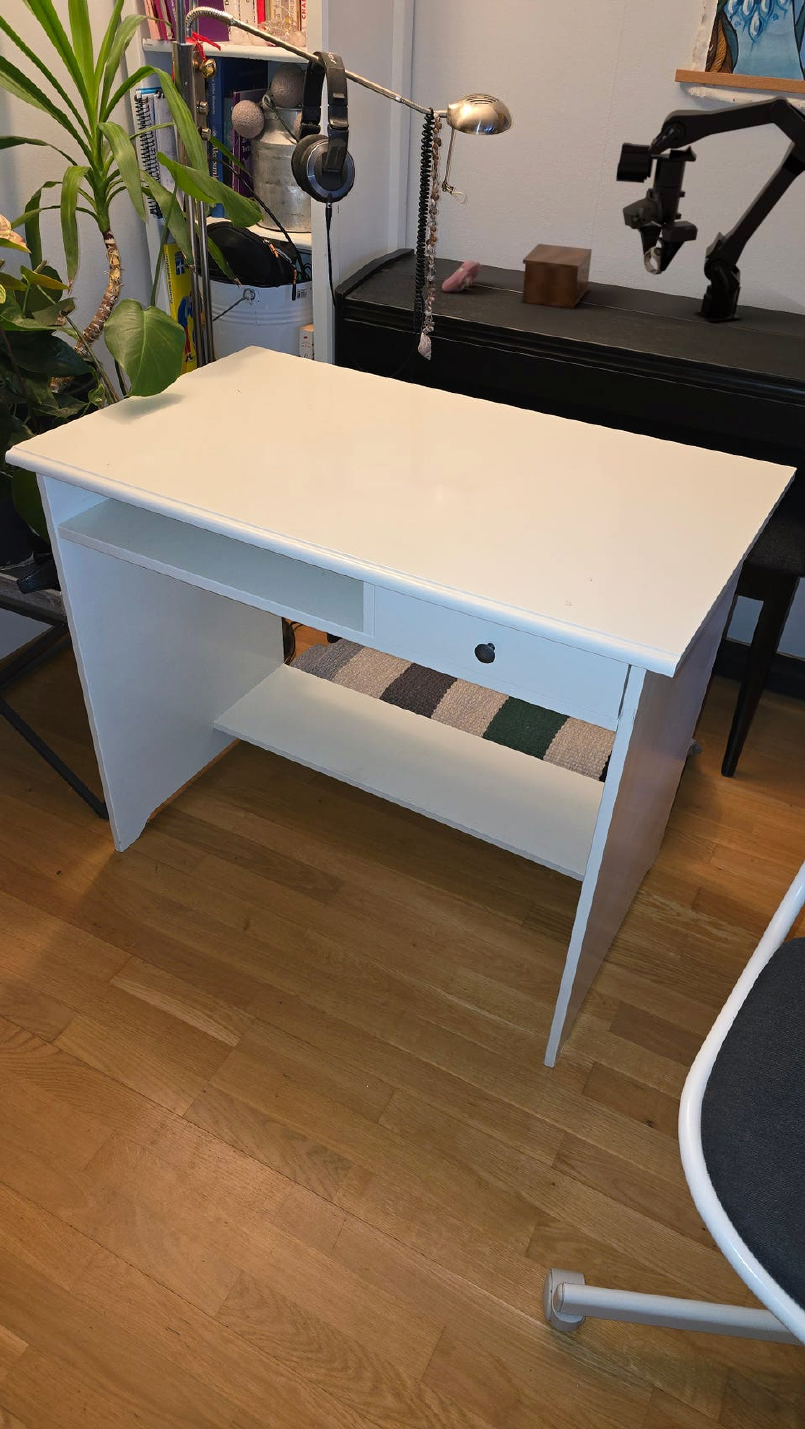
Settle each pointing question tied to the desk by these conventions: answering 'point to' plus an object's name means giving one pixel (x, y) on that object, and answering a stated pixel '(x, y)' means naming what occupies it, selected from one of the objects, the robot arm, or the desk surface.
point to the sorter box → (555, 284)
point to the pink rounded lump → (463, 276)
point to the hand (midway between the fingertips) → (654, 266)
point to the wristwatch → (656, 254)
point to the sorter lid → (557, 256)
